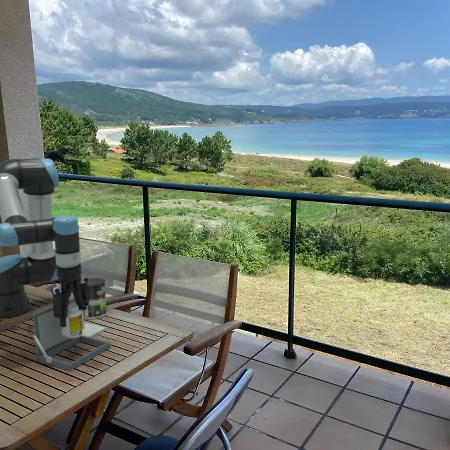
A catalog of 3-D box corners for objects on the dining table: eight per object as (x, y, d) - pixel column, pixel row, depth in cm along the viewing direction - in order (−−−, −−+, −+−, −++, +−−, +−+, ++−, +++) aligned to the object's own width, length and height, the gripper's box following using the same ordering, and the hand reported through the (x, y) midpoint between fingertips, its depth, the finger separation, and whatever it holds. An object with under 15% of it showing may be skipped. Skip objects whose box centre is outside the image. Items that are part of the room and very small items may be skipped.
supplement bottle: (83, 337, 145) (81, 308, 143) (65, 340, 143) (62, 310, 141) (82, 330, 150) (80, 302, 148) (64, 333, 148) (62, 304, 146)
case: (34, 362, 142) (29, 315, 139) (79, 339, 159) (75, 297, 156) (67, 372, 135) (63, 324, 132) (110, 347, 152) (107, 303, 149)
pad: (66, 334, 163) (66, 332, 163) (86, 324, 172) (86, 322, 172) (86, 339, 158) (86, 337, 158) (106, 329, 167) (106, 327, 167)
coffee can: (111, 310, 186) (109, 278, 183) (99, 320, 176) (97, 286, 173) (88, 309, 188) (86, 277, 185) (76, 318, 178) (73, 284, 175)
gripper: (53, 274, 132) (59, 345, 137) (98, 258, 148) (102, 323, 153) (36, 270, 135) (42, 340, 140) (81, 256, 151) (86, 319, 156)
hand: (73, 331), depth 146 cm, fingers closed on supplement bottle, 6 cm apart
